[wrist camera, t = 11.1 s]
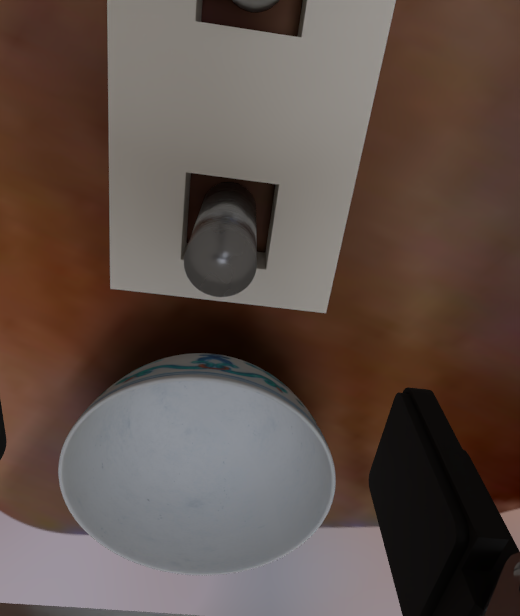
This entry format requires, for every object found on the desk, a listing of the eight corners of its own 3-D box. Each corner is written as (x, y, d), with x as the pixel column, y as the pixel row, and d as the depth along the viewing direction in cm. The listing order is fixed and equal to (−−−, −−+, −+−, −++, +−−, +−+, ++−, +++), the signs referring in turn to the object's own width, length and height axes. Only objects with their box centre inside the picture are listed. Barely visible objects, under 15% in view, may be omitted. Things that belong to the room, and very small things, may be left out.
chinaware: (278, 271, 29) (285, 339, 22) (343, 448, 36) (365, 543, 29) (56, 344, 31) (1, 427, 24) (157, 498, 38) (135, 597, 31)
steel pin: (204, 178, 26) (186, 225, 19) (259, 185, 26) (261, 234, 19) (200, 231, 28) (181, 292, 21) (252, 237, 28) (252, 300, 21)
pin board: (121, -185, 20) (46, -319, 12) (411, -132, 20) (494, -230, 13) (121, 270, 29) (77, 341, 22) (320, 293, 30) (341, 369, 23)
